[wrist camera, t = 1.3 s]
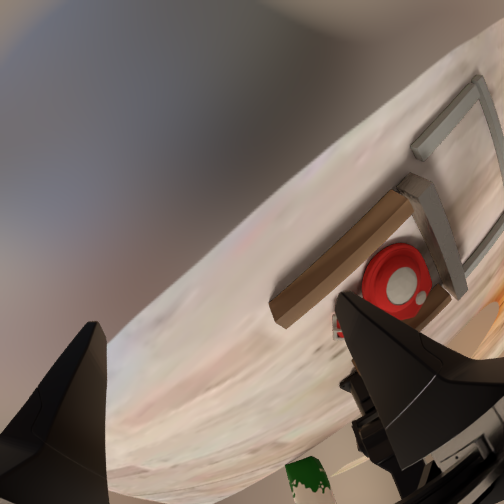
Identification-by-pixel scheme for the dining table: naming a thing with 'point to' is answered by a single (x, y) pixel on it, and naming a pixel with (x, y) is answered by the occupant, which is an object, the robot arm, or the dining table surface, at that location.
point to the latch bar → (435, 231)
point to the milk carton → (309, 482)
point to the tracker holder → (394, 283)
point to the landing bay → (443, 128)
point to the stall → (353, 266)
